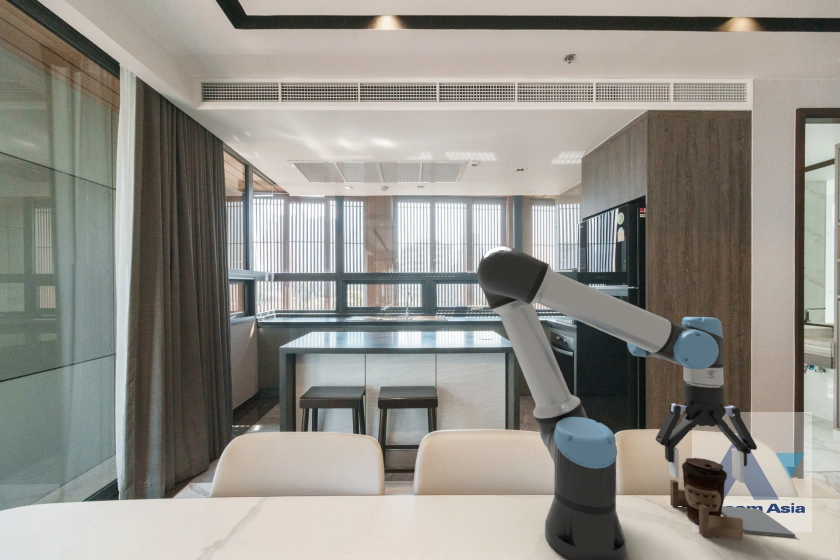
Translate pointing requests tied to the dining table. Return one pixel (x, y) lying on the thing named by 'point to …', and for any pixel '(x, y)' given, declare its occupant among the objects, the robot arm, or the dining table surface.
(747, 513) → the coaster
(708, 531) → the cup holder rails
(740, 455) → the robot arm
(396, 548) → the dining table surface
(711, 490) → the coffee cup
